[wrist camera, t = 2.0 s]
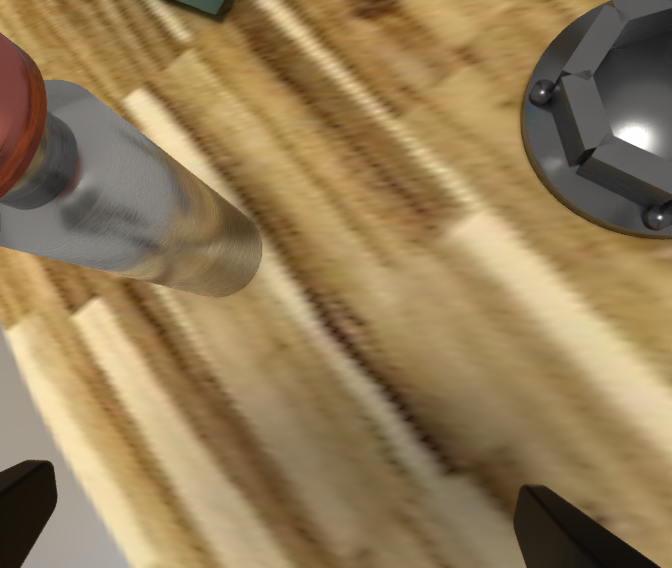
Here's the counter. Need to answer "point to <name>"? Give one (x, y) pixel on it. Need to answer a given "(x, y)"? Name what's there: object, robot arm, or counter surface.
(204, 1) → the teapot
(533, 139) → the dark grey handled piece
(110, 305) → the counter surface
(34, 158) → the jar with red lid
